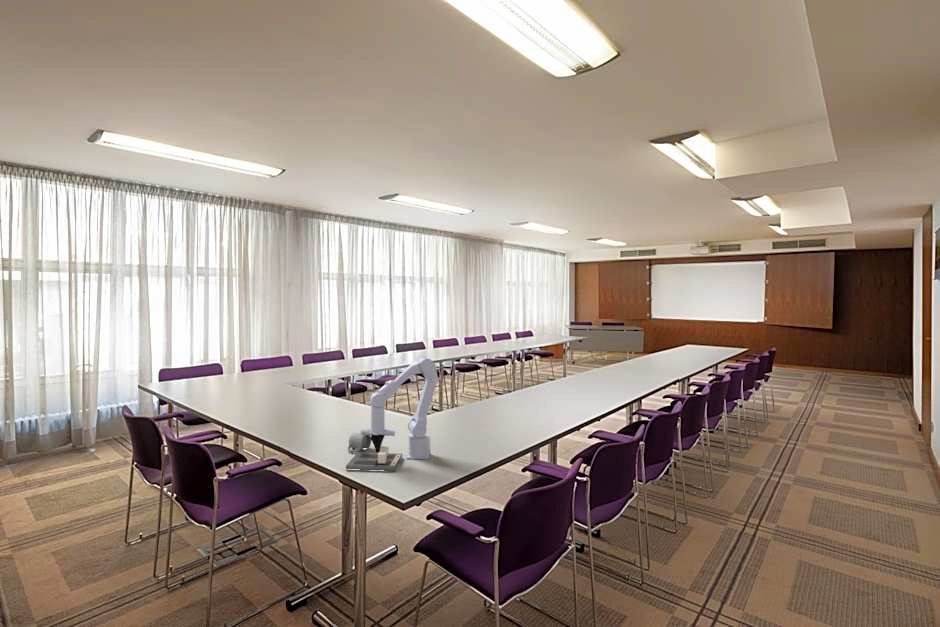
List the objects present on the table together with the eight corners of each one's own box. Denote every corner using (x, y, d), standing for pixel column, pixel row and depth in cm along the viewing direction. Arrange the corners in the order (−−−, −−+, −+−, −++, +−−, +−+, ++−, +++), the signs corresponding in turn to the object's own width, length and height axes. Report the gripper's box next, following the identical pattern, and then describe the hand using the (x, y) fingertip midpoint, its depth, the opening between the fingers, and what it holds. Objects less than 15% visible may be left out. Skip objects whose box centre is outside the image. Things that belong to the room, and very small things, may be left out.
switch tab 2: (386, 460, 194) (386, 451, 193) (385, 463, 191) (385, 454, 190) (379, 460, 194) (379, 451, 194) (377, 463, 191) (377, 454, 191)
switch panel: (402, 458, 204) (402, 453, 204) (394, 471, 188) (394, 466, 188) (357, 457, 205) (357, 452, 205) (345, 470, 189) (345, 465, 189)
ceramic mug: (357, 445, 221) (357, 429, 221) (371, 447, 218) (371, 431, 218) (343, 452, 211) (342, 436, 211) (358, 455, 208) (357, 438, 208)
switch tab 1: (388, 454, 202) (388, 445, 202) (386, 456, 199) (386, 448, 199) (381, 454, 202) (381, 445, 202) (380, 456, 199) (380, 447, 199)
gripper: (358, 422, 196) (358, 454, 197) (392, 423, 195) (392, 455, 196) (363, 418, 203) (363, 449, 204) (396, 419, 203) (396, 449, 203)
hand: (377, 451), depth 200 cm, fingers closed
